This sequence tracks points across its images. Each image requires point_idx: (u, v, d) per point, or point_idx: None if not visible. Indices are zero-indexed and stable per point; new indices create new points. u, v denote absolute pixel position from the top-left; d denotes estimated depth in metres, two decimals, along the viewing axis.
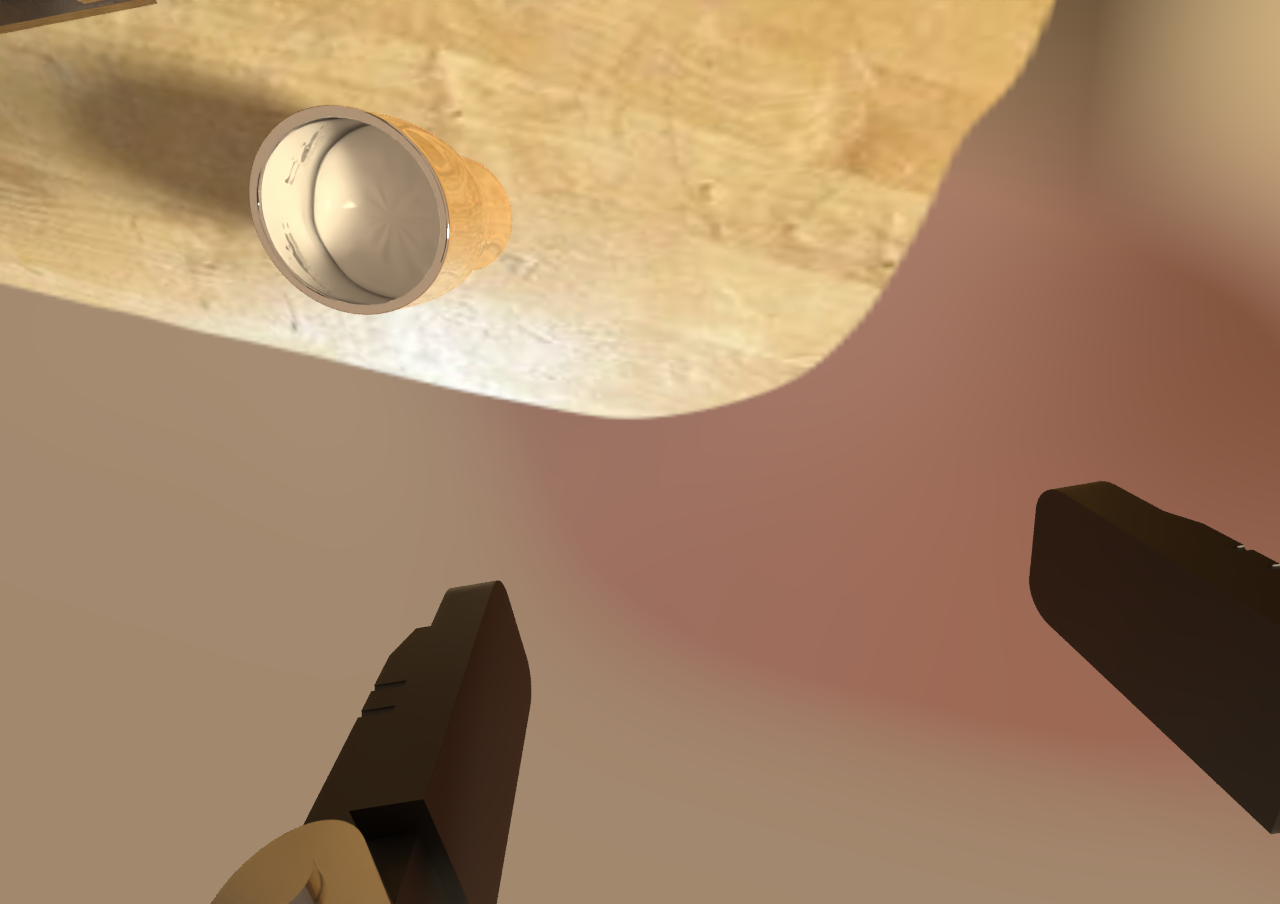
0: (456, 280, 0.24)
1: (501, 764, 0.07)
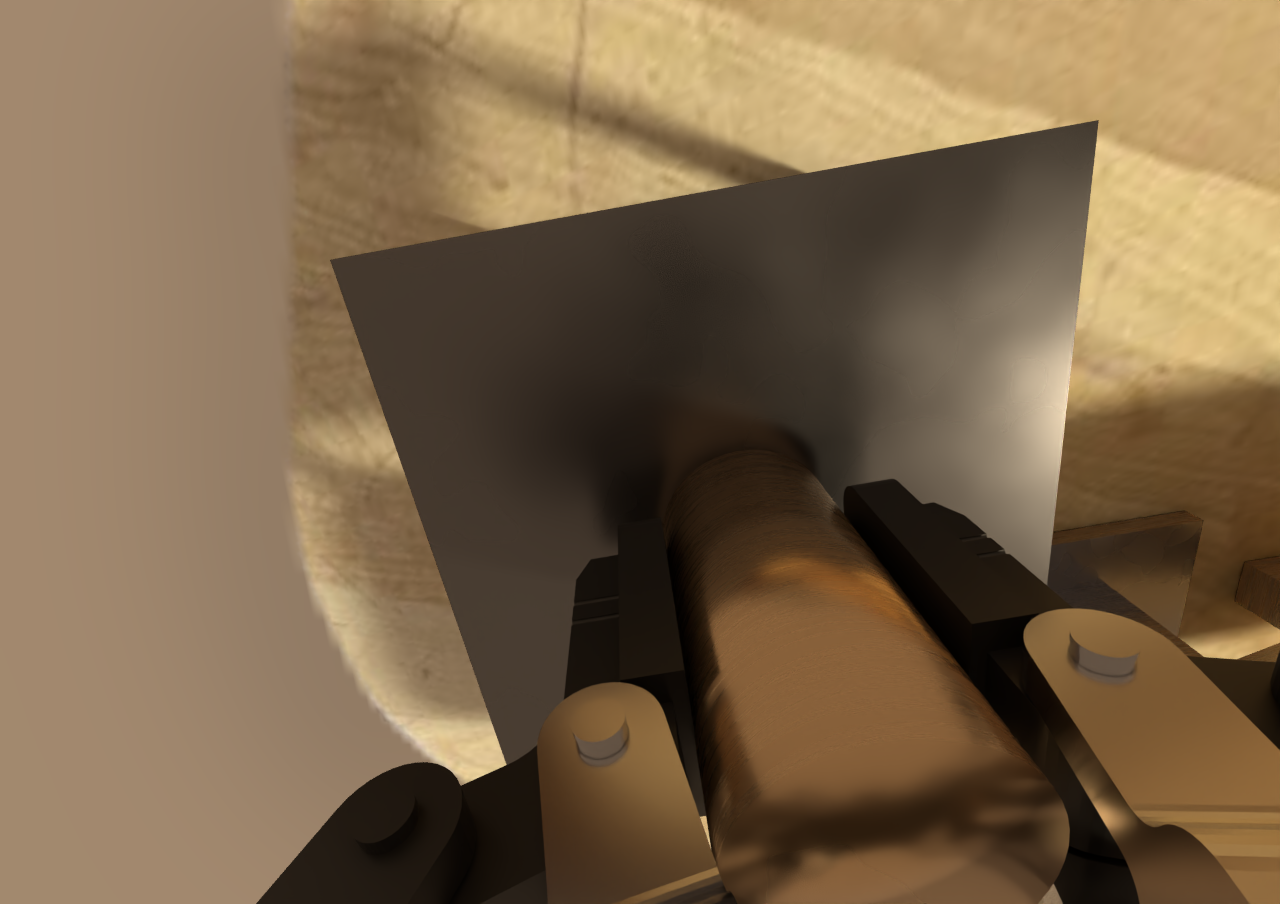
0: None
1: None
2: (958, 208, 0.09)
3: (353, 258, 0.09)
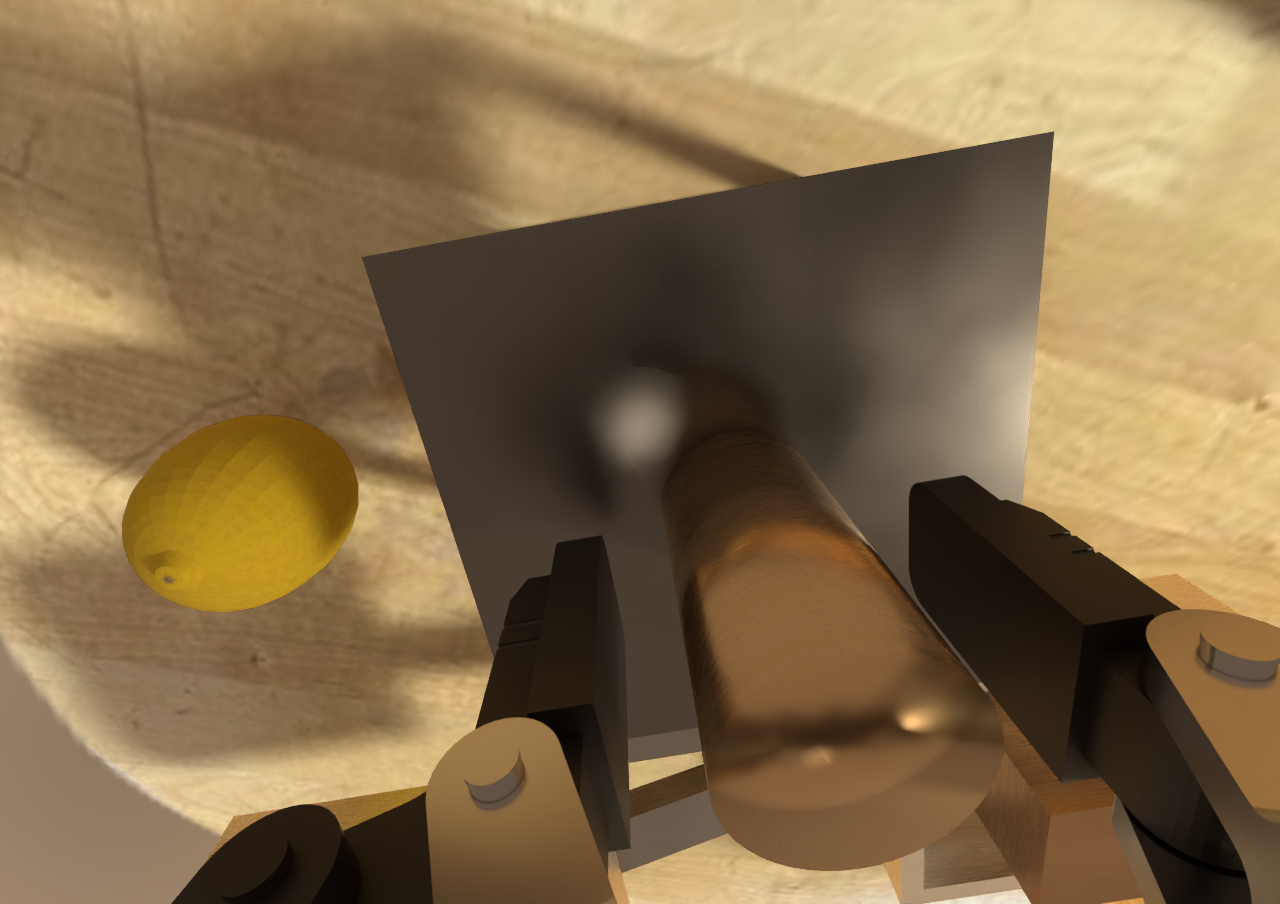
0: None
1: (619, 697, 0.08)
2: (929, 210, 0.10)
3: (382, 256, 0.10)
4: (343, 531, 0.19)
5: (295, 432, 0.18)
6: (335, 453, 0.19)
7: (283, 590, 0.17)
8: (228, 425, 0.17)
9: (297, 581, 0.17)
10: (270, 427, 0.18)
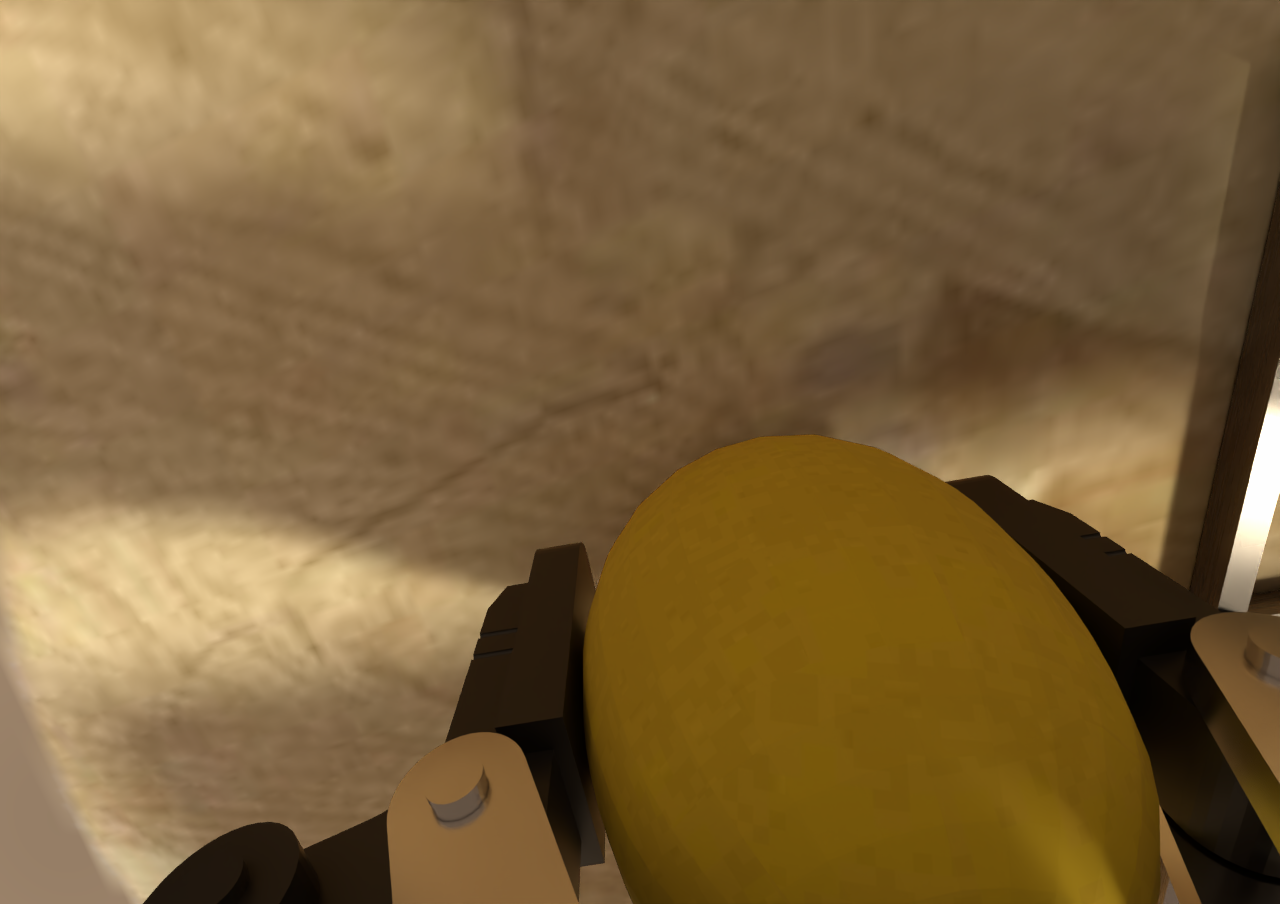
0: None
1: None
2: None
3: None
4: None
5: (945, 483, 0.07)
6: None
7: None
8: (833, 470, 0.06)
9: None
10: (921, 474, 0.06)
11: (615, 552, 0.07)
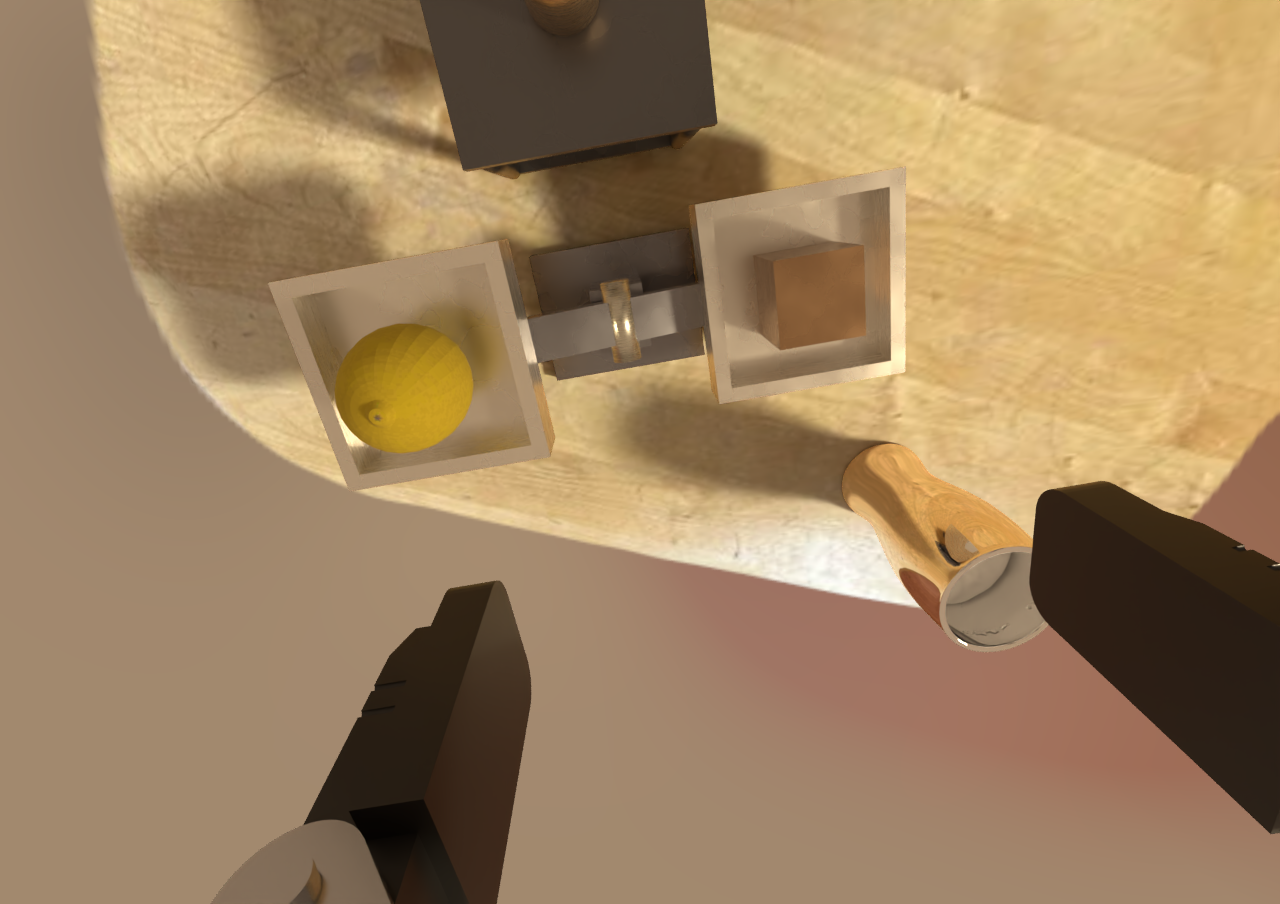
0: (1002, 602, 0.34)
1: (501, 764, 0.07)
2: None
3: None
4: (467, 407, 0.27)
5: (440, 335, 0.26)
6: (462, 353, 0.27)
7: (434, 440, 0.25)
8: (398, 326, 0.25)
9: (442, 435, 0.26)
10: (425, 330, 0.26)
11: None
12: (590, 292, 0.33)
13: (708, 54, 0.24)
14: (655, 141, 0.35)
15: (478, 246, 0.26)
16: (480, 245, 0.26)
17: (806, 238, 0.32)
